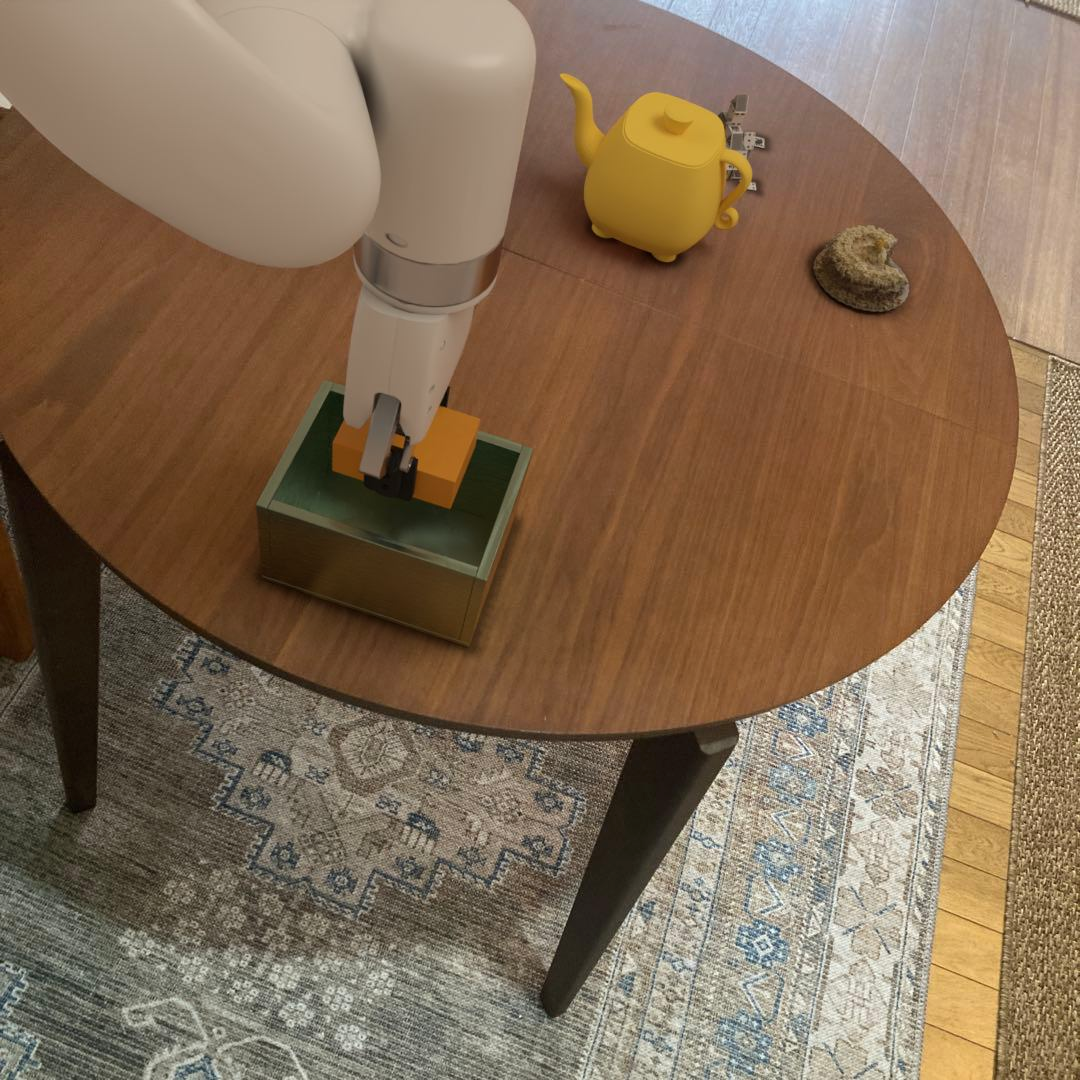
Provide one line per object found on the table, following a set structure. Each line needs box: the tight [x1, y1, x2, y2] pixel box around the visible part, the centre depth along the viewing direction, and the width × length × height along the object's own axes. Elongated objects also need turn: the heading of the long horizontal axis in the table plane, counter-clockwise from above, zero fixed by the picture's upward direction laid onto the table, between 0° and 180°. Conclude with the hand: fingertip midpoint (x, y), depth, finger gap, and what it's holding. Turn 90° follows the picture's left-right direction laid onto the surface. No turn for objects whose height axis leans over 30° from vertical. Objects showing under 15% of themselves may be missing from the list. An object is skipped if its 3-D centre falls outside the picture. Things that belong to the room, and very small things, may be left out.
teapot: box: [559, 72, 753, 263], centre depth 98 cm, size 14×20×13 cm
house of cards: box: [717, 93, 765, 191], centre depth 108 cm, size 9×9×8 cm
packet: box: [332, 406, 482, 509], centre depth 67 cm, size 8×6×3 cm
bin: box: [255, 378, 534, 648], centre depth 74 cm, size 16×12×10 cm
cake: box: [812, 224, 911, 313], centre depth 102 cm, size 10×10×5 cm
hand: (405, 453), depth 68 cm, fingers closed on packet, 5 cm apart
